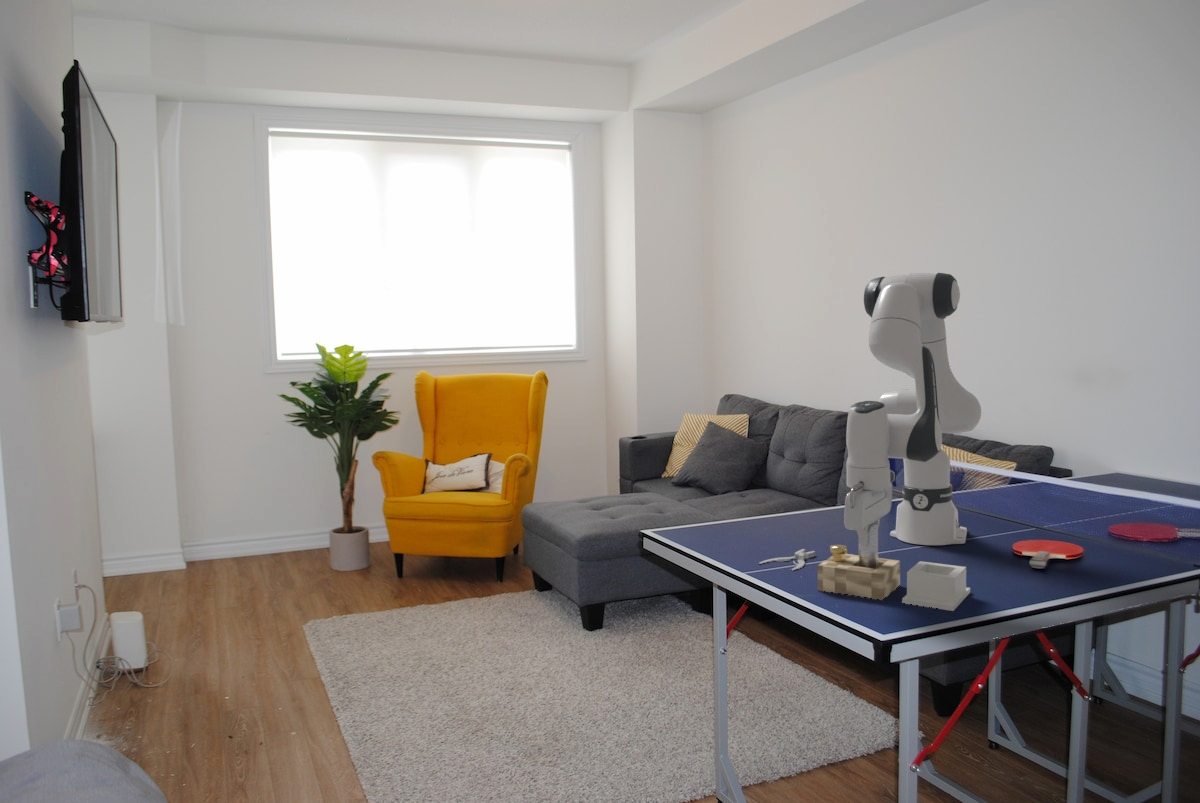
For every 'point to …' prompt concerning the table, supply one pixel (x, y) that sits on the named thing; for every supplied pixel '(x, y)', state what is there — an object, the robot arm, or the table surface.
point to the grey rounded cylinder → (870, 549)
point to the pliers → (797, 555)
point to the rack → (936, 585)
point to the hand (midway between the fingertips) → (868, 542)
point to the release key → (838, 552)
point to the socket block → (859, 577)
